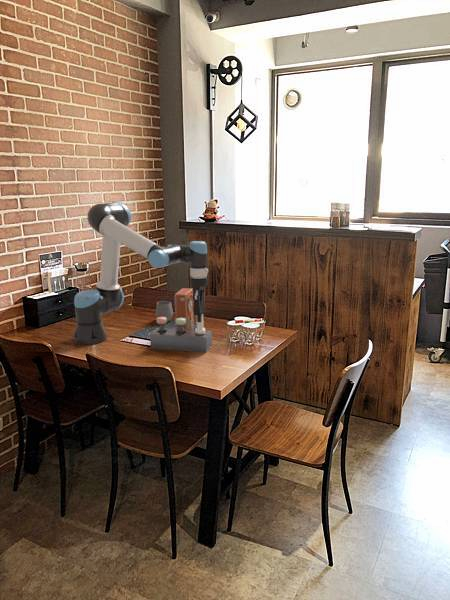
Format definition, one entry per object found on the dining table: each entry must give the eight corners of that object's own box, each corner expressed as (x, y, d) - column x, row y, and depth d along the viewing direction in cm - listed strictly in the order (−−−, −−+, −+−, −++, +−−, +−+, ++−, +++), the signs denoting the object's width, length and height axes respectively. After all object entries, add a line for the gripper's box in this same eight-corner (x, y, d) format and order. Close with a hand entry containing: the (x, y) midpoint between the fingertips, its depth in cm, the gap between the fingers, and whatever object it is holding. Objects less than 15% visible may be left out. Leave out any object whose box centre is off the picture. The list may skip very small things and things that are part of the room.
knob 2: (194, 347, 225) (193, 330, 223) (196, 344, 230) (196, 327, 227) (204, 348, 224) (203, 330, 222) (206, 344, 229) (206, 327, 227)
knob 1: (155, 336, 228) (155, 319, 226) (159, 333, 232) (158, 316, 230) (165, 337, 227) (164, 319, 225) (168, 334, 231) (167, 317, 229)
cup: (164, 317, 276) (163, 299, 274) (176, 319, 271) (176, 302, 269) (152, 321, 269) (151, 303, 267) (165, 324, 264) (164, 305, 261)
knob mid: (174, 337, 226) (174, 320, 224) (177, 334, 230) (177, 317, 228) (184, 338, 225) (184, 320, 223) (187, 335, 229) (186, 318, 227)
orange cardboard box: (195, 328, 255) (187, 338, 241) (182, 328, 256) (173, 337, 242) (194, 288, 250) (186, 295, 236) (181, 287, 251) (172, 294, 237)
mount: (150, 348, 227) (150, 334, 225) (158, 341, 236) (157, 327, 234) (206, 352, 222) (206, 337, 220) (211, 344, 231) (211, 330, 229)
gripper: (203, 280, 212) (204, 333, 218) (210, 274, 224) (211, 324, 230) (186, 279, 214) (188, 332, 219) (194, 273, 226) (195, 323, 232)
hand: (200, 328), depth 225 cm, fingers closed
